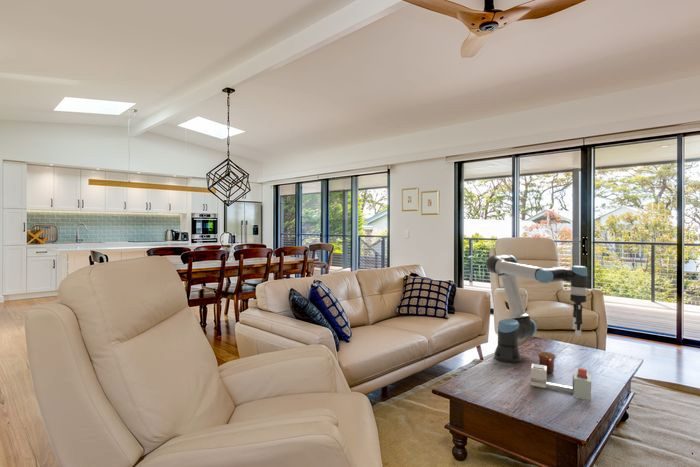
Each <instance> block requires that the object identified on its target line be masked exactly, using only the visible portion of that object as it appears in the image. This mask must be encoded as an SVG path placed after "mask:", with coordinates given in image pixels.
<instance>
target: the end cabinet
mask: <svg viewBox="0 0 700 467" xmlns="http://www.w3.org/2000/svg"><path fill="white" fill-rule="evenodd" d="M591 378H592V377H591V374H589V373H587V376H586V377H580V376H578V371H573V375H572V387H573V394H572V395H573V398H577V399H581V400H586V401H591V400H592V379H591Z"/></svg>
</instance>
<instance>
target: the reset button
mask: <svg viewBox="0 0 700 467" xmlns="http://www.w3.org/2000/svg"><path fill="white" fill-rule="evenodd" d="M577 372H578V376H580V377H586V376H587V374H588V373H587V372H588V370H587V369H586V368H578V369H577Z"/></svg>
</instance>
